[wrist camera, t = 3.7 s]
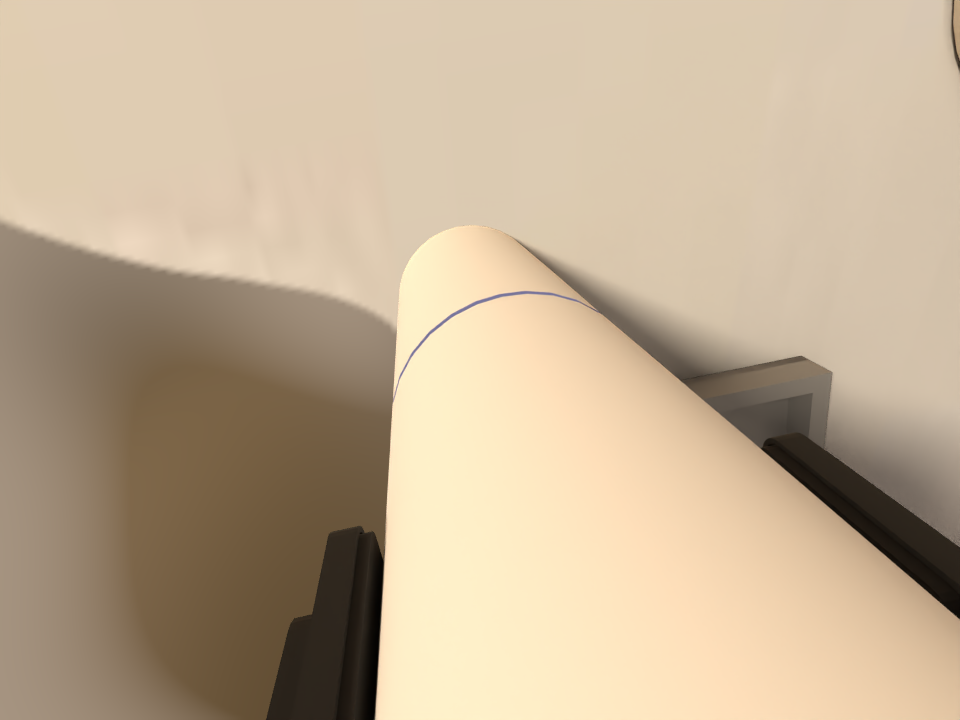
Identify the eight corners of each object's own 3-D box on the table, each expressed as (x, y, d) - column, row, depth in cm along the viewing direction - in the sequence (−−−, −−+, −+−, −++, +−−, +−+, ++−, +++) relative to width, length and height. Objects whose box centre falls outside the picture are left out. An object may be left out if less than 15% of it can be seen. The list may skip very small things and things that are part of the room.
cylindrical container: (530, 211, 25) (1883, 909, 2) (549, 348, 28) (1221, 1296, 5) (383, 241, 25) (55, 1473, 2) (417, 377, 28) (464, 1543, 5)
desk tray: (801, 355, 30) (832, 372, 28) (783, 567, 36) (807, 595, 34) (527, 412, 29) (537, 433, 27) (557, 619, 35) (567, 651, 33)
